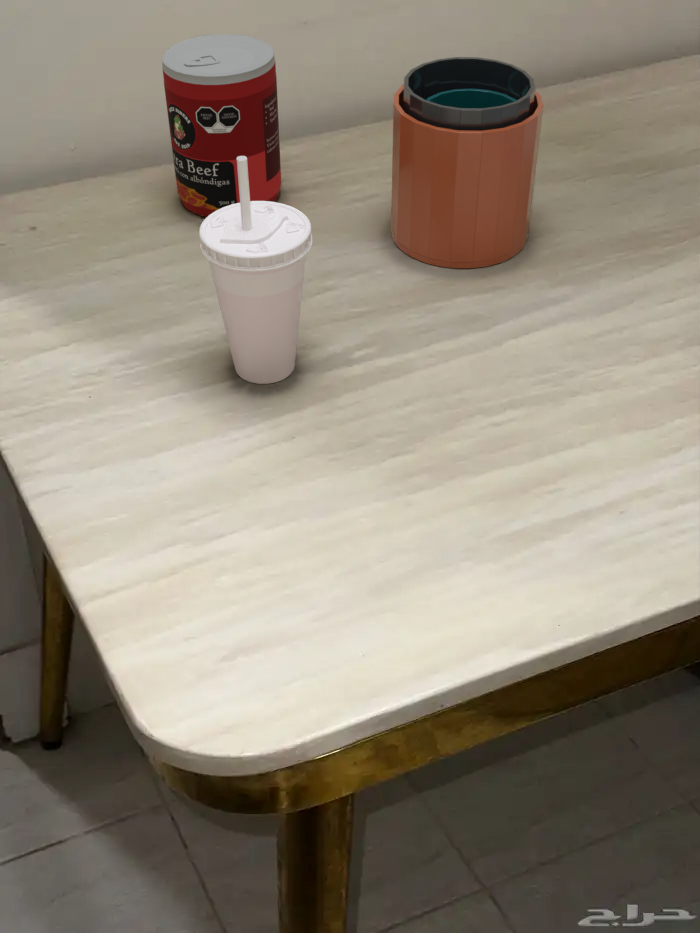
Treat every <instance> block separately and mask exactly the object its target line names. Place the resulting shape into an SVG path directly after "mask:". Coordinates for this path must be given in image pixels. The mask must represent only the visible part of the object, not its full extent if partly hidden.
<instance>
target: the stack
mask: <svg viewBox="0 0 700 933" xmlns="http://www.w3.org/2000/svg"><path fill="white" fill-rule="evenodd" d="M403 98H404V83H403V84H401V85H400V86H399V88H398V89H397V90H396V91H395V92H394V93H393V107H392V108H393V111H392V157H391V158H392V159H391V160H392V161H391V162H392V163H391V164H392V165H391V206H390V208H391V210H390V213H391V214H390V234H391V238H392V240H393V242H394V244H395V245H396V246H397V247H398V249H399V250H400V251H401V252H402V253H404V254H406V255H407V256H409V257H410V258H413V259H415V260H417V261H419V262H422V263H425V264H428V265H432V266H436V267H440V268H441V267H442V268H449V269H450V268H451V269H478V268H486V267H490V266H491V267H492V266H494V265H498V264H501V263H503V262H505V261H508V260H510V259H511V258H514V257H515V256H517V255H518V254H519V253H520V252H521V251H522V250H523V249H524V247H525V246H526V244H527V241H528V236H529V234H530V228H531V226H530V225H531V218H532V217H531V216H532V210H533V209H532V208H533V199H534V192H535V183H536V173H537V165H538V158H539V157H538V156H539V148H540V137H541V131H542V130H541V129H542V121H543V112H544V104H543V98H542V95H541V94H540V93H539V92H538V91H537V90H536V89H535V94H534V104H533V113H532V116H530V117H528V118H527V119H525V120H524V121H522V122H520V123H517V124H514V125H511V126H508V127H505V128H499V129H491V130H483V131H470V130H453V129H447V128H441V127H436V126H433V125H429V124H426V123H423V122H420V121H418V120H416V119H415V118H413V117H411V116H410V115H408V114H406V113H405V112H404V110H403Z"/></svg>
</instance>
